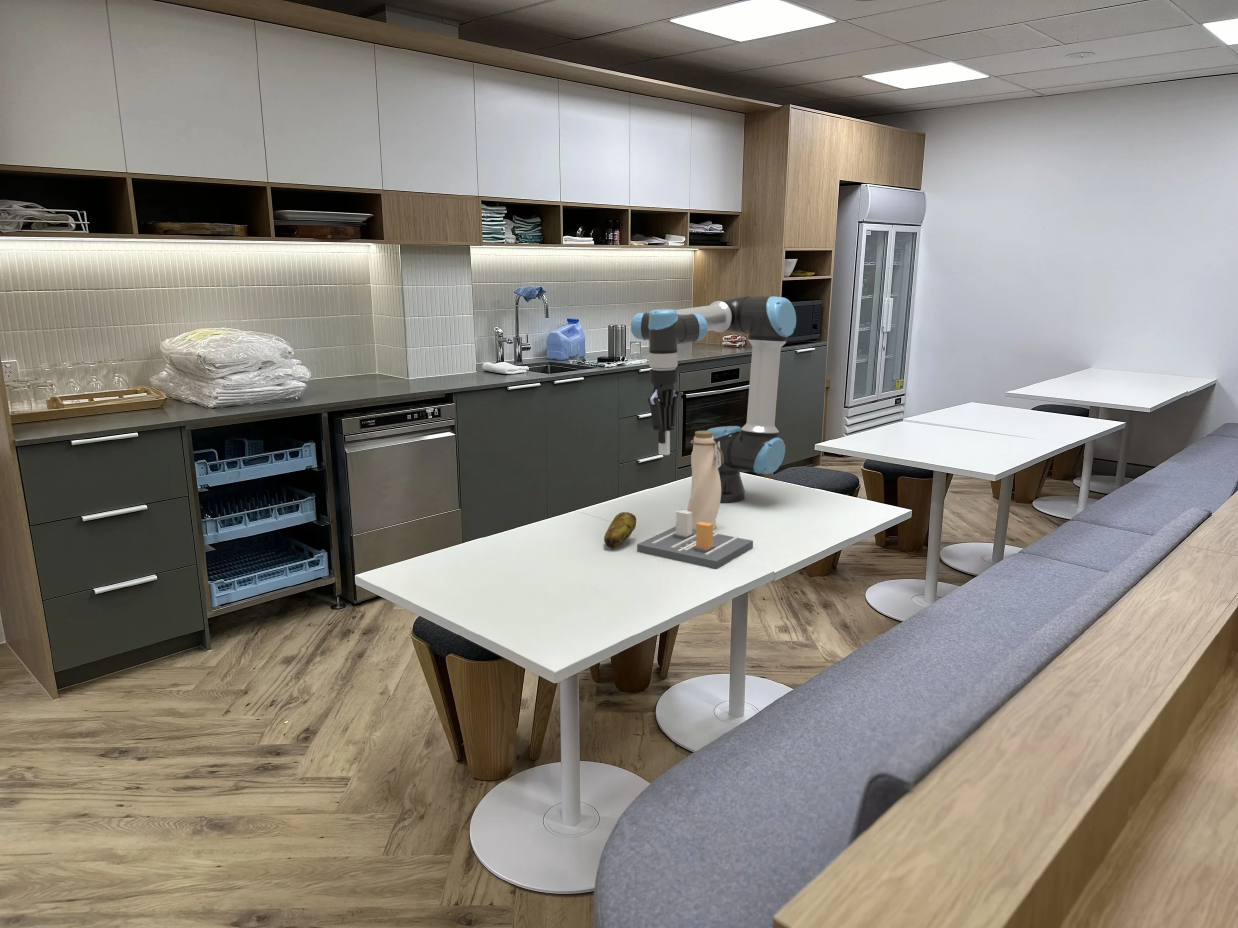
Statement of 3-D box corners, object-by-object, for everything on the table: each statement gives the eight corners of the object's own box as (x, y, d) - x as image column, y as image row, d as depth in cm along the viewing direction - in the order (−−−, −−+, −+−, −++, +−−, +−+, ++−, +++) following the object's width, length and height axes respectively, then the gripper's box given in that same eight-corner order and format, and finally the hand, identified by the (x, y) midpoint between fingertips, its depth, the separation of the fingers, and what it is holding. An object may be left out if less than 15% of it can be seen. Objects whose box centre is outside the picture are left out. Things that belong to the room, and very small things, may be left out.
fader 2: (701, 546, 226) (701, 520, 225) (714, 548, 224) (715, 523, 223) (693, 550, 223) (694, 524, 222) (707, 553, 221) (707, 526, 219)
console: (676, 532, 245) (676, 523, 244) (752, 547, 231) (753, 538, 231) (637, 551, 229) (637, 541, 228) (716, 568, 215) (716, 558, 215)
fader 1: (681, 533, 237) (681, 509, 236) (694, 536, 235) (694, 511, 233) (673, 537, 234) (674, 512, 232) (686, 539, 232) (686, 514, 230)
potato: (591, 545, 234) (591, 517, 232) (623, 535, 243) (623, 507, 241) (614, 552, 228) (614, 523, 226) (646, 541, 237) (646, 513, 236)
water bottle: (722, 522, 254) (724, 429, 247) (722, 532, 245) (724, 435, 239) (687, 522, 255) (688, 429, 248) (686, 531, 246) (687, 435, 240)
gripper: (663, 364, 238) (664, 447, 243) (638, 370, 227) (640, 457, 233) (687, 366, 234) (687, 450, 239) (663, 372, 223) (664, 460, 229)
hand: (664, 454), depth 236 cm, fingers closed
